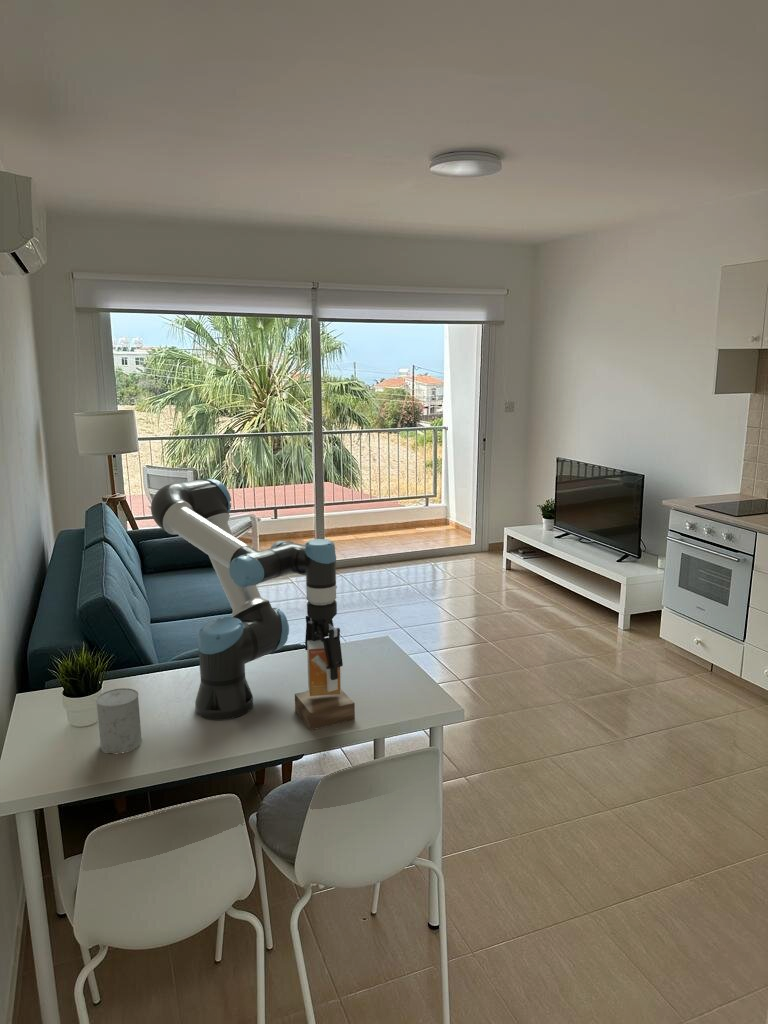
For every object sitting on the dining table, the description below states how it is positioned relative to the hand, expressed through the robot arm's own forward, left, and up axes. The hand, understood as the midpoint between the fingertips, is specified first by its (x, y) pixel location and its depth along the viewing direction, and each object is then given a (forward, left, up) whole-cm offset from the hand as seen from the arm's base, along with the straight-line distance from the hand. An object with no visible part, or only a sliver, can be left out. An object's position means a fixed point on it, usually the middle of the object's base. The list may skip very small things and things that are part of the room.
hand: (324, 683), depth 189 cm
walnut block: (0, 0, -9) cm, 9 cm away
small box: (0, 0, -2) cm, 2 cm away
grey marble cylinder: (-15, -48, -9) cm, 51 cm away
